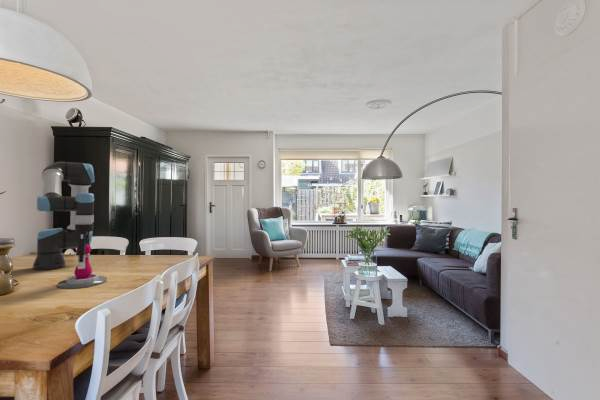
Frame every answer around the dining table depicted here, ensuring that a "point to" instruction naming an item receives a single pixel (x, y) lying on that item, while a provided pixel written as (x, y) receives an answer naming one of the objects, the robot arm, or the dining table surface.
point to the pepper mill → (88, 270)
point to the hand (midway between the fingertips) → (83, 265)
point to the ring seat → (82, 282)
